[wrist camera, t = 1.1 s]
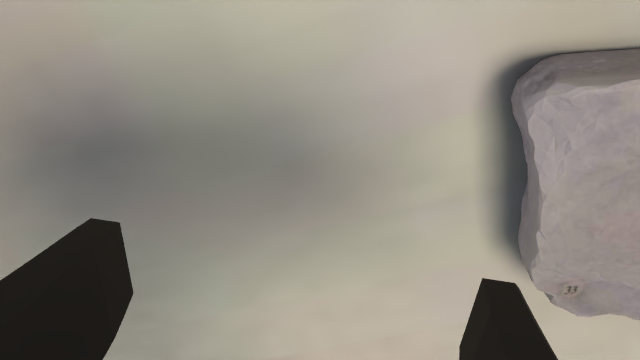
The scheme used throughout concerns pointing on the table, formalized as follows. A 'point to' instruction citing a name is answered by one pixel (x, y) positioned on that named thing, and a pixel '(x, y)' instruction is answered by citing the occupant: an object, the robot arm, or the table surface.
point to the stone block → (582, 180)
